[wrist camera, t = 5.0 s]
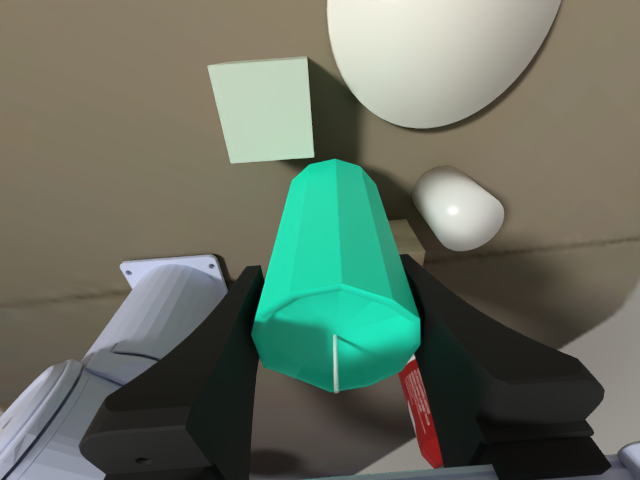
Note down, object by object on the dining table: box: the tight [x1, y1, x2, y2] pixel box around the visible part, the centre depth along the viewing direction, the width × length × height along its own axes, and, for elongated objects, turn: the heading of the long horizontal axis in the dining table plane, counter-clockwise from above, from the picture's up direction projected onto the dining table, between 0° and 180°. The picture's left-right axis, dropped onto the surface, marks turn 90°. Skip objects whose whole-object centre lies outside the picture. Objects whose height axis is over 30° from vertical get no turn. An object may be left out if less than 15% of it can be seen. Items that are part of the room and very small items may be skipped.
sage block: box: [208, 56, 314, 163], centre depth 16 cm, size 4×4×4 cm
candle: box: [251, 159, 421, 393], centre depth 13 cm, size 6×6×12 cm
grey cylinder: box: [412, 166, 504, 251], centre depth 20 cm, size 4×4×5 cm
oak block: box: [388, 219, 425, 267], centre depth 22 cm, size 4×4×4 cm
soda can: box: [398, 354, 444, 469], centre depth 27 cm, size 7×7×12 cm
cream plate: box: [326, 0, 561, 128], centre depth 15 cm, size 12×12×1 cm
